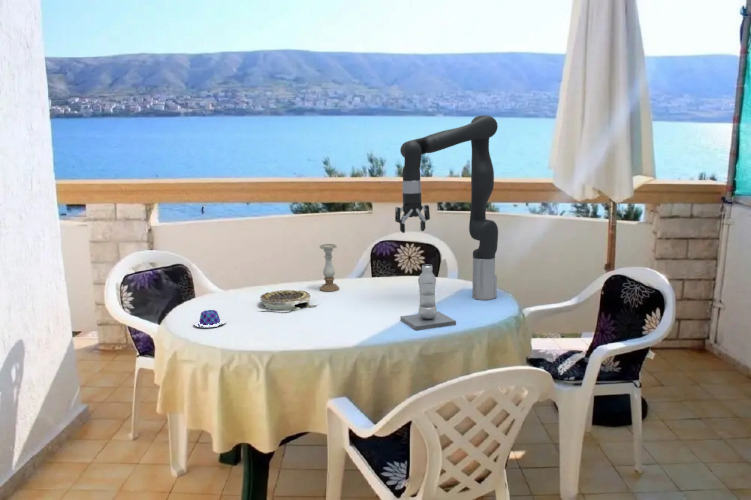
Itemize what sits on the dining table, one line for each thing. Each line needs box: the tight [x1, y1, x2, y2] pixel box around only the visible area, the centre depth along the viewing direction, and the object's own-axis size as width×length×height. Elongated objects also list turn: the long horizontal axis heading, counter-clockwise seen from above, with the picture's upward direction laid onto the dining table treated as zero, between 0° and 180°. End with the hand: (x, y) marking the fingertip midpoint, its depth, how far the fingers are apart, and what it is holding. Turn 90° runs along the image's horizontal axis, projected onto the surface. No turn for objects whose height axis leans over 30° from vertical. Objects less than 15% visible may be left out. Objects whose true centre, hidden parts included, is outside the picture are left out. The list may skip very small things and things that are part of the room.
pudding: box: [198, 309, 221, 325], centre depth 242 cm, size 12×12×5 cm
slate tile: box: [399, 310, 457, 331], centre depth 239 cm, size 16×14×2 cm
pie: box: [259, 289, 316, 314], centre depth 270 cm, size 28×27×5 cm
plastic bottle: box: [417, 263, 438, 319], centre depth 238 cm, size 6×7×20 cm
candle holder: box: [319, 243, 340, 293], centre depth 291 cm, size 9×9×20 cm
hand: (412, 231), depth 262 cm, fingers open, 8 cm apart
